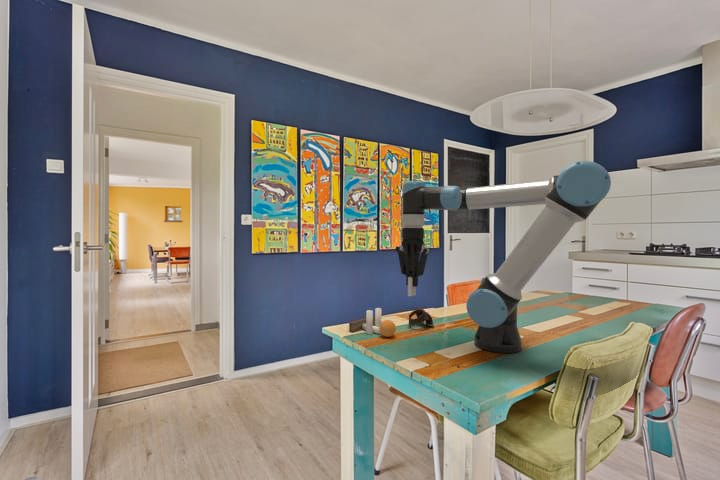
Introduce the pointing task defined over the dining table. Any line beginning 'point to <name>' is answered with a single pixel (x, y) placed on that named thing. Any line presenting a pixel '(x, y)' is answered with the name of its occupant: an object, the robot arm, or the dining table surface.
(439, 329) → the dining table surface
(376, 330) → the front pin
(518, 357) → the dining table surface
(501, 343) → the robot arm
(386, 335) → the ball
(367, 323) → the pin
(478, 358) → the dining table surface
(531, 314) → the dining table surface
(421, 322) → the pottery mug
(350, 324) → the back wall
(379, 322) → the pin
